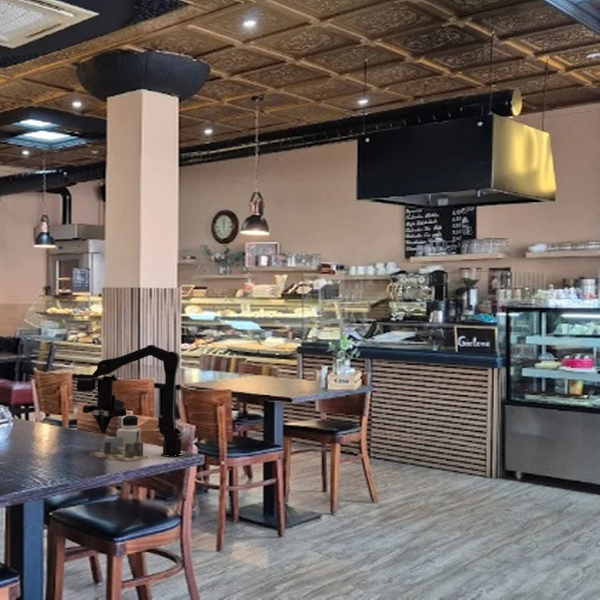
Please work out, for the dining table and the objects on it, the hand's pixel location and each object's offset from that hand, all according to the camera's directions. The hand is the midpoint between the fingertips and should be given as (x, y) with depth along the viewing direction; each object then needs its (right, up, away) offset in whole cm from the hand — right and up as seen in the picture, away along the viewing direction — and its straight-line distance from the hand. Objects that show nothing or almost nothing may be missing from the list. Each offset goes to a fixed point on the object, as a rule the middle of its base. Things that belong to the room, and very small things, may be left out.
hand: (103, 433), depth 304 cm
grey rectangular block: (+6, -7, -6) cm, 11 cm away
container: (+6, -9, +15) cm, 18 cm away
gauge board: (+7, -8, -5) cm, 12 cm away
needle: (+4, -6, -9) cm, 11 cm away
